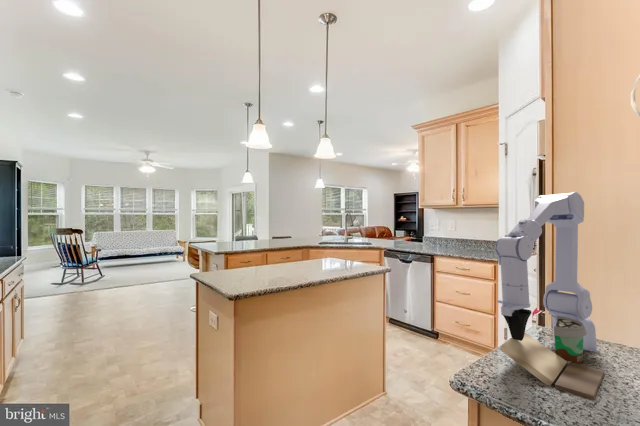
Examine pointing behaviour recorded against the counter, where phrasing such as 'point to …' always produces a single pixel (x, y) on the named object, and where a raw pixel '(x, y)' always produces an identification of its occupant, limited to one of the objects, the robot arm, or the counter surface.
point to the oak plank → (534, 358)
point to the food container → (569, 339)
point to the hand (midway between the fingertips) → (517, 339)
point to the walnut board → (580, 380)
